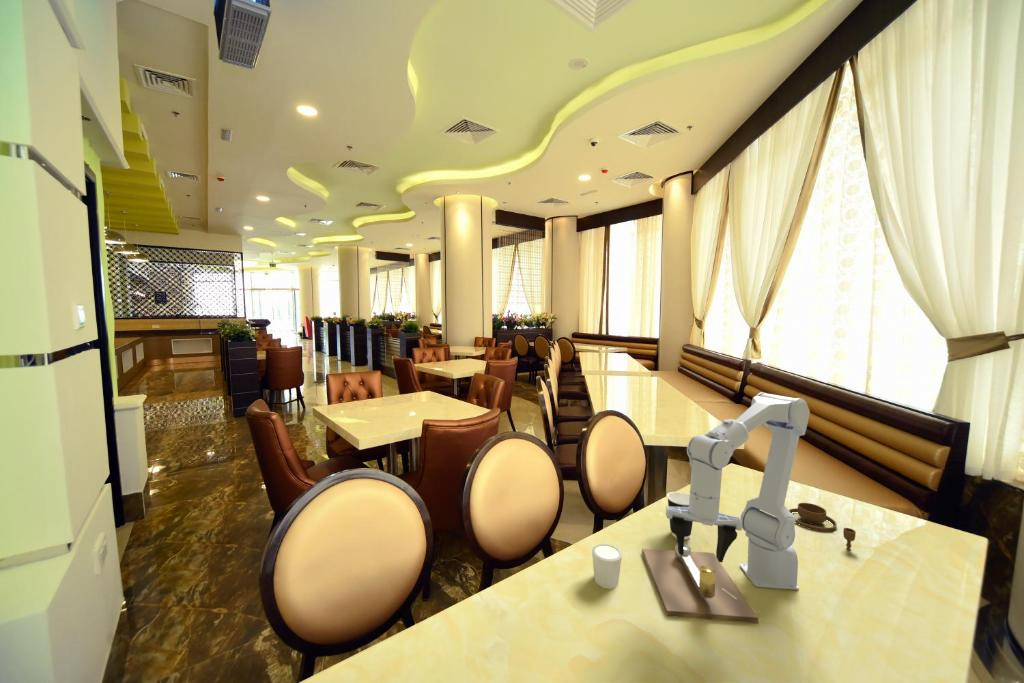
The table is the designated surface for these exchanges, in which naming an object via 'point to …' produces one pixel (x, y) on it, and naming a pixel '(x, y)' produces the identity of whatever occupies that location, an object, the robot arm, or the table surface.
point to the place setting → (820, 520)
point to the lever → (698, 573)
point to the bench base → (684, 595)
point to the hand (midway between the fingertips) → (699, 556)
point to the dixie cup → (680, 501)
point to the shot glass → (606, 565)
